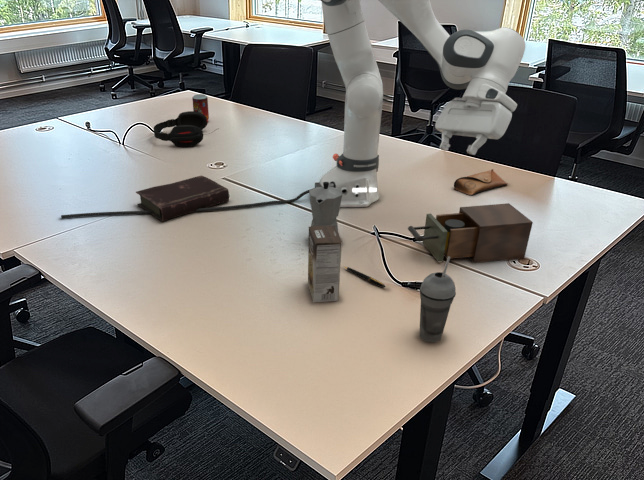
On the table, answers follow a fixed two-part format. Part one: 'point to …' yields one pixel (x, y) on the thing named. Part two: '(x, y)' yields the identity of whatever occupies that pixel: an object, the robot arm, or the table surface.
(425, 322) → the beverage cup
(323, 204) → the coffeepot
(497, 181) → the sunglasses case
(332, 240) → the coffee box
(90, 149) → the table surface
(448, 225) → the yellow jar
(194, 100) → the soda can
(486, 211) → the cabinet
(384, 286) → the fountain pen
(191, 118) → the headset
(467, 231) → the drawer
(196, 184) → the diary
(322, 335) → the table surface
